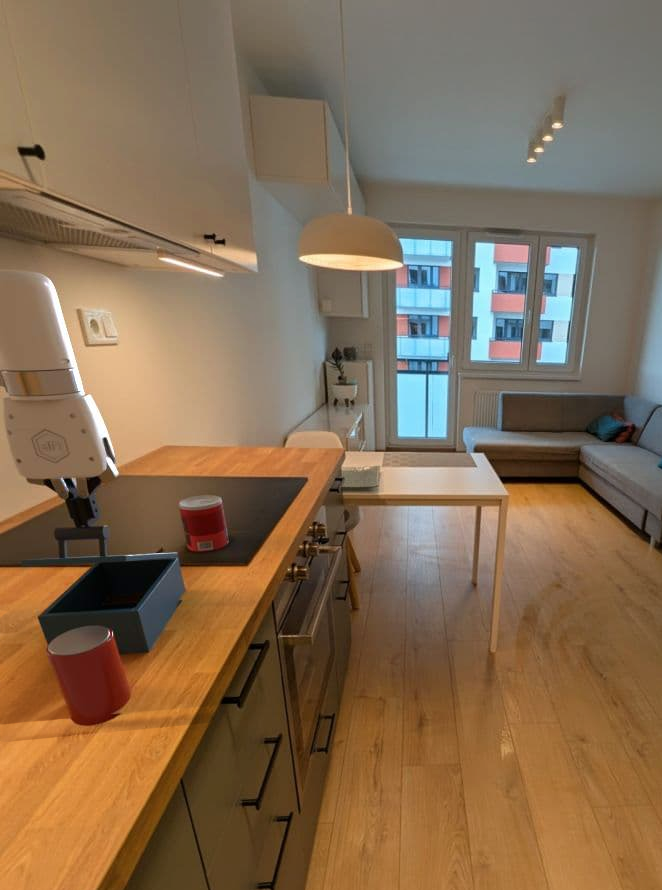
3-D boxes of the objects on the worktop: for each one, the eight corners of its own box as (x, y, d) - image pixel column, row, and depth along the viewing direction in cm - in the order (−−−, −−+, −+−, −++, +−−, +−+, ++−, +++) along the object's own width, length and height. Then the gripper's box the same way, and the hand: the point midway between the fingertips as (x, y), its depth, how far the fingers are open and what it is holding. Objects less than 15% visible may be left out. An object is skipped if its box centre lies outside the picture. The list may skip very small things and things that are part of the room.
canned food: (237, 547, 109) (229, 499, 104) (204, 561, 103) (194, 510, 98) (214, 539, 112) (205, 492, 108) (181, 552, 106) (170, 502, 101)
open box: (150, 656, 74) (137, 610, 71) (54, 663, 72) (37, 616, 69) (187, 596, 90) (178, 557, 86) (109, 601, 88) (97, 560, 84)
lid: (126, 561, 68) (123, 524, 68) (20, 566, 66) (18, 527, 66) (177, 557, 86) (176, 527, 86) (96, 560, 84) (94, 530, 84)
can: (59, 728, 61) (32, 658, 57) (86, 691, 67) (63, 626, 63) (119, 722, 62) (97, 653, 58) (140, 687, 68) (121, 622, 64)
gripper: (-46, 388, 58) (10, 536, 66) (97, 387, 60) (135, 530, 68) (-4, 381, 65) (43, 516, 72) (123, 380, 67) (155, 511, 75)
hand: (87, 522), depth 70 cm, fingers closed
